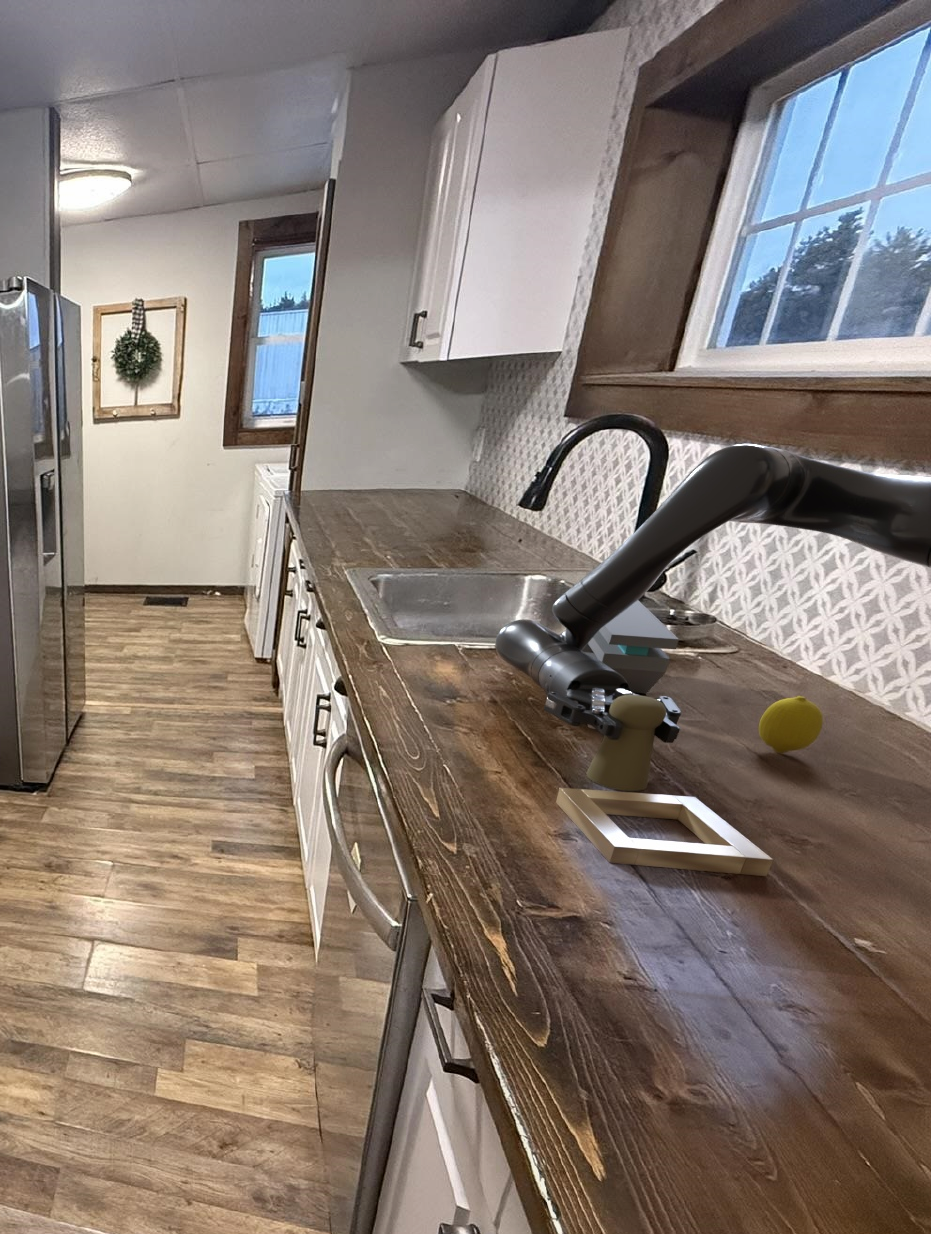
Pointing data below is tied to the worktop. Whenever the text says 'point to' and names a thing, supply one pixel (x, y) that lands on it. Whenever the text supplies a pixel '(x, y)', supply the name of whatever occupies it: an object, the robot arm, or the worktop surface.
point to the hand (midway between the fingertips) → (644, 733)
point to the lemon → (790, 724)
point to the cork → (628, 744)
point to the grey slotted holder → (634, 647)
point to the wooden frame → (716, 855)
